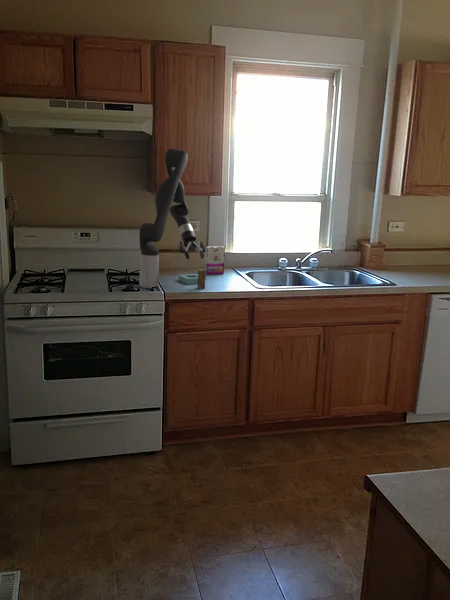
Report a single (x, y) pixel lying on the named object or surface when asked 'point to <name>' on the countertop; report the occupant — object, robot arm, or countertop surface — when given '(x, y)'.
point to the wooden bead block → (189, 278)
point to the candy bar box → (214, 259)
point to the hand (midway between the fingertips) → (195, 258)
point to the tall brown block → (201, 278)
